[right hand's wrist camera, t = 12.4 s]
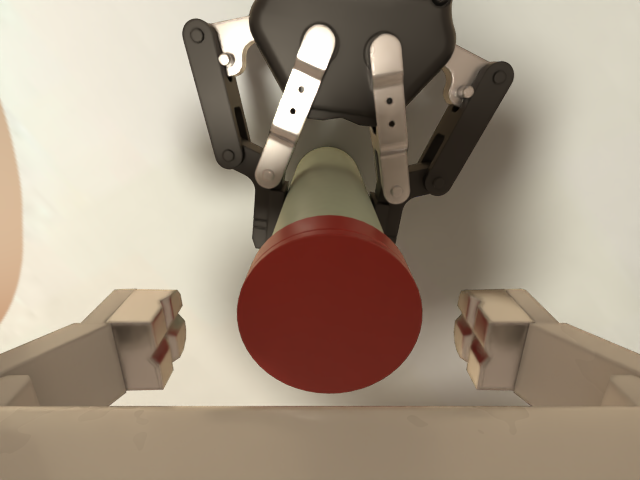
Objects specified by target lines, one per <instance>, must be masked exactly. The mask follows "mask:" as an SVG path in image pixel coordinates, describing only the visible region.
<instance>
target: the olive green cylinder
mask: <svg viewBox="0 0 640 480" xmlns="http://www.w3.org/2000/svg"><path fill="white" fill-rule="evenodd" d="M321 215H337V216H345V217H350V218H354V219H357V220H360V221H363V222H365V223H367V224H369V225H372V226H374V227H375V228H377V229H378V230H380V231H381V232H383V230H382V227H381V225H380V222H379V220H378V217H377V215H376V212H375V210H374V207H373V205H372V202H371V200H370V197H369V195H368V193H367V190H366V188H365V185H364V183H363V180H362V178H361V175H360V173H359V170H358V168H357V166H356V163H355V162H354V160H353V159H352V158H351V157H350V156H349V155H348V154H347V153H345V152H344V151H342V150H340V149H337V148H334V147H321V148H317V149H314V150H312V151H310V152H309V153H307V154H306V155H305V156H304V157H303V158H302V159H301V161H300V162H299V164H298V166H297V168H296V171H295V174H294V176H293V179H292V182H291V185H290V187H289V190H288V193H287V196H286V198H285V201H284V204H283V207H282V210H281V212H280V215H279V218H278V221H277V223H276V226H275V229H274V232H273V234H272V235H274V234H275V233H276V232H277V231H279V230H280V229H282V228H284V227H285V226H287V225H289V224H291V223H293V222H295V221H298V220H301V219H305V218H308V217H314V216H321ZM383 233H384V232H383Z"/></svg>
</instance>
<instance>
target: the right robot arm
mask: <svg viewBox="0 0 640 480" xmlns="http://www.w3.org/2000/svg"><path fill="white" fill-rule="evenodd" d="M182 306H183V305H182V299H181V294H180V293H179V291H178V290H159V289H116V290H114V291H113V292H112V293H111V294H110V295H109V296H108V297H107V298H106V299H105V300H104V301H103V302H102V303H101V304H100V305H99V306H98V307H97V308H96V309H95V310H94V311H93V312H92V313H90V314H89V315H88V316H87V317H86V318H85V319H84V320H83V321H82V322H81V323H73V324H71V325H69V326H66V327H64V328H61V329H59V330H57V331H54V332H52V333H49V334H47V335H45V336H42V337H40V338H37V339H35V340H33V341H30V342H28V343H26V344H23V345H21V346H18V347H16V348H14V349H11V350H9V351H6V352H4V353H2V354H0V480H640V354H638V353H636V352H633V351H631V350H629V349H626V348H624V347H621V346H619V345H617V344H614V343H612V342H610V341H607V340H605V339H602V338H600V337H598V336H595V335H593V334H591V333H588V332H586V331H583V330H581V329H579V328H576V327H574V326H571V325H569V324H567V323H559V322H558V321H557V320H556V319H555V318H554V317H553V316H552V315H551V314H550V313H549V312H548V311H547V310H546V309H544V308H543V307H542V306H541V305H540V304H539V303H538V302H537V301H536V300H535V299H534V298H533V297H532V296H531V295H530V294H529V293H528V292H527V291H526V290H524V289H485V290H463V291H461V293H460V295H459V299H458V305H457V306H458V307H459V309H460V311H461V312H462V314H461V315H460V316H459V317H458V318H457V319H456V320H455V326H454V342H455V346H456V350H457V352H458V354H459V356H460V358H462V359H463V360H465V361H466V362H468V363H467V372H468V374H469V376H470V378H471V380H472V381H473V383H474V385H475V387H476V389H477V390H511V391H514V393H515V394H517V395H518V396H519V397H520V398H522V399H523V400H524V401H526V402H527V403H528V404H529V405H531V406H109V405H111V404H112V403H113V402H115V401H116V400H117V399H118V398H120V397H121V396H122V395H124V394H125V393H126V391H129V390H163V389H164V387H165V385H166V383H167V381H168V380H169V378H170V376H171V374H172V372H173V363H172V362H174V361H175V360H177V359H178V358H180V356H181V354H182V352H183V350H184V346H185V341H186V325H185V320H184V319H183V318H182V317H181V316H180V315H179V314H178V312H179V311H180V309H181V307H182Z"/></svg>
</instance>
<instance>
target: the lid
mask: <svg viewBox="0 0 640 480" xmlns="http://www.w3.org/2000/svg"><path fill="white" fill-rule="evenodd" d="M237 322H238V328H239V332H240V335H241V338H242V341H243V343H244V345H245V347H246V349H247V350H248V352H249V353H250V355H251V356H252V358H253V359H254V360H255V361H256V362H257V364H258V365H259V366H260V367H261V368H262V369H264V370H265V371H266V372H267V373H268V374H270V375H271V376H273V377H274V378H276V379H277V380H279V381H281V382H283V383H285V384H287V385H289V386H292V387H294V388H297V389H301V390H305V391H309V392H315V393H328V394H330V393H344V392H350V391H354V390H358V389H362V388H365V387H367V386H370V385H372V384H374V383H376V382H378V381H380V380H382V379H384V378H385V377H387V376H388V375H390V374H391V373H392V372H393V371H395V370H396V369H397V368H398V367H399V366H400V365H401V364H402V363H403V362H404V361H405V360H406V358H407V357H408V355H409V354H410V353H411V351H412V349H413V347H414V345H415V344H416V342H417V339H418V336H419V333H420V329H421V324H422V302H421V297H420V294H419V290H418V288H417V285H416V283H415V281H414V279H413V277H412V274H411V272H410V270H409V268H408V266H407V264H406V261H405V259H404V257H403V255H402V254H401V252H400V251H399V249H398V247H397V246H396V245H395V244H394V243H393V242H392V241H391V239H390V238H388V237H387V236H386V235H385V234H384V233H383V232H381V231H380V230H378V229H377V228H375V227H374V226H372V225H369V224H367V223H365V222H363V221H360V220H357V219H354V218H350V217H345V216H337V215H321V216H314V217H308V218H305V219H301V220H298V221H295V222H293V223H291V224H289V225H287V226H285V227H284V228H282V229H280V230H279V231H277V232H276V233H275V234H274V235H272V236H271V237H270V238H269V239H268V240H267V241H266V242H265V243H264V244H263V246H262V247H261V248H260V250H259V251H258V253H257V254H256V256H255V258H254V260H253V262H252V264H251V267H250V269H249V272H248V274H247V276H246V279H245V281H244V284H243V286H242V288H241V292H240V295H239V298H238V305H237Z"/></svg>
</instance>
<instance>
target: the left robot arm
mask: <svg viewBox="0 0 640 480" xmlns="http://www.w3.org/2000/svg"><path fill="white" fill-rule="evenodd" d="M182 36H183V40H184V44H185V48H186V51H187V55H188V59H189V62H190V66H191V70H192V73H193V77H194V81H195V84H196V88H197V92H198V95H199V99H200V103H201V106H202V110H203V114H204V117H205V121H206V125H207V128H208V132H209V136H210V139H211V143H212V147H213V150H214V154H215V158H216V161H217V162H218V164H219V165H220V166H222V167H223V168H225V169H234V170H236V171H238V172H240V173H242V174H244V175H246V176H248V177H249V178H250V179H251V180H252V182H253V183H254V186H255V205H254V220H253V235H252V239H253V242H254V245H255V248H258V249H260V248H261V247H262V246H263V244H264V243H265V242H266V241H267V240H268V239H269V238H270V237H271V236H272V234H273V232H274V229H275V226H276V223H277V221H278V218H279V215H280V212H281V210H282V207H283V204H284V201H285V198H286V196H287V193H288V184H289V181H285V171H286V169H287V166H288V164H289V161H290V159H291V156H292V154H293V152H294V149H295V147H296V144H297V142H298V139H299V137H300V135H301V132H302V130H303V127H304V125H305V122H306V120H307V118H310V119H317V120H328V119H335V118H344V119H346V120H349V121H351V122H353V123H356V124H358V125H363V126H369V127H370V135H371V142H372V147H373V152H374V161H375V169H376V178H377V184H376V189H375V192H370V196H369V197H370V200H371V202H372V205H373V207H374V210H375V212H376V215H377V217H378V220H379V222H380V225H381V227H382V230H383V232H384V234H385V235H386V236H387V237H388V238H390V239H391V241H392V242H393V243H394V244H395V243H396V238H397V233H398V229H399V224H400V219H401V214H402V210H403V207H404V205H405V204H406V202H407V201H409V200H410V199H412V198H414V197H417V196H422V195H426V194H431V195H434V196H440V195H443V194H445V193H447V192H448V191H449V189H450V188H451V186H452V185H453V183H454V181H455V179H456V178H457V176H458V174H459V173H460V171H461V169H462V168H463V166H464V164H465V162H466V161H467V159H468V157H469V156H470V154H471V152H472V150H473V149H474V147H475V145H476V144H477V142H478V140H479V138H480V137H481V135H482V133H483V132H484V130H485V128H486V127H487V125H488V123H489V121H490V120H491V118H492V116H493V115H494V113H495V111H496V109H497V108H498V106H499V104H500V103H501V101H502V99H503V97H504V96H505V94H506V92H507V91H508V89H509V87H510V86H511V84H512V82H513V78H514V71H513V68H512V67H511V65H510V64H508V63H507V62H503V61H500V62H488V61H486V60H484V59H482V58H480V57H479V56H477V55H475V54H473V53H471V52H469V51H467V50H465V49H463V48H462V47H460V46H458V45H456V33H455V29H454V25H453V21H452V0H255V1H254V3H253V5H252V7H251V10H250V14H249V16H246V17H241V18H236V19H231V20H227V21H222V22H217V23H212V24H209V23H207V22H205V21H203V20H201V19H191V20H189V21H188V22H187V23H186V24H185V25H184V28H183V32H182ZM255 43H256V45H257V46H258V48H259V50H260V52H261V54H262V55H263V57H264V59H265V61H266V63H267V65H268V66H269V68H270V70H271V72H272V74H273V76H274V77H275V79H276V81H277V83H278V85H279V87H280V88H281V90H282V92H283V96H282V99H281V101H280V104H279V107H278V109H277V112H276V115H275V117H274V120H273V122H272V125H271V128H270V132H269V136H268V139H267V141H266V144H265V147H264V149H263V148H261V147H259V146H257V145H256V144H254V143H252V142H251V141H250V136H249V132H248V128H247V124H246V119H245V115H244V111H243V107H242V103H241V98H240V94H239V90H238V86H237V82H236V76H239V75H241V74H242V73H243V72H244V70H245V68H246V54H247V51H248V49H249V48H250V46H252V45H253V44H255ZM441 69H442V70H443V72H444V73H445V76H446V84H445V87H444V90H443V97H444V100H445V101H446V103H448V104H449V106H448V108H447V110H446V111H445V113H444V115H443V117H442V119H441V121H440V122H439V124H438V126H437V128H436V130H435V132H434V134H433V135H432V137H431V139H430V141H429V143H428V145H427V147H426V148H425V150H424V152H423V154H422V156H421V158H420V159H419V161H418V163H417V164H413V165H409V166H408V159H407V150H408V134H407V122H406V110H405V107H406V106H407V105H408V103H409V102H410V101H411V100H412V99H413V98H414V97H415V96H416V95H417V94H418V93H419V92H420V91H421V90H422V89H423V88H424V87H425V86H426V85H427V84H428V83H429V82H430V81H431V80H432V79H433V77H434V76H435V75H436V74H437V73H438V72H439V71H440V70H441Z"/></svg>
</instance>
